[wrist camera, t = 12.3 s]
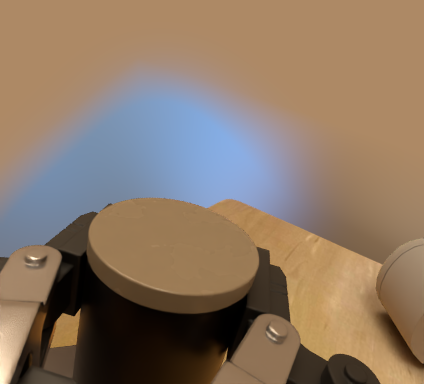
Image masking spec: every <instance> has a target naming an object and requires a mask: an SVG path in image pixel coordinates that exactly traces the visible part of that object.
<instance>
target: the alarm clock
mask: <svg viewBox="0 0 424 384" xmlns="http://www.w3.org/2000/svg"><path fill="white" fill-rule="evenodd" d="M376 291H377V294H378V298H379V300H380V301H381V303H382V305H383V306H384V308H385V309H386V311H387V313H388V314H389V316H390V317H391V319H392V321H393V322H394V324H395V325H396V327H397V329H398V330H399V332H400V334H401V335H402V337H403V338H404V340H405V342H406V343H407V345H408V346H409V348H410V350H411V351H412V353H413V354H414V355H415V356H416V357H417V359H418V360H419V361H420V362H421V363H423V364H424V238H420V239H416V240H412V241H409V242H407V243H405V244H403V245H402V246H400V247H398V248H397V249H396V250H395V251H394V252H393V253H392V254H391V255H390V256H389V257H388V258H387V260H386V261H385V263H384V264H383V266H382V267H381V269H380V272H379V274H378V277H377V283H376Z"/></svg>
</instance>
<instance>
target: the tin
mask: <svg viewBox="0 0 424 384" xmlns="http://www.w3.org/2000/svg"><path fill="white" fill-rule="evenodd" d="M86 248H87V263H86V271H85V279H84V288H83V296H82V304H81V312H80V320H79V328H78V336H77V344H76V352H75V360H74V369H73V377H72V379H73V380H74V381H76V382H77V383H79V384H211V382H212V381H213V379H214V378H215V376H216V374H217V373H218V371H219V370H220V367H221V365H222V362H223V359H224V356H225V354H226V351H227V348H228V345H229V342H230V340H231V337H232V334H233V331H234V329H235V326H236V323H237V320H238V318H239V315H240V312H241V309H242V306H243V304H244V301H245V298H246V295H247V293H248V291H249V290H250V288H251V286H252V284H253V281H254V279H255V276H256V273H257V270H258V267H259V255H258V251H257V248H256V246H255V244H254V242H253V241H252V239H251V238H250V237H249V235H248V234H247V233H246V232H245V231H244V230H243V229H241V228H240V227H239V226H238V225H236V224H235V223H234V222H232V221H231V220H229V219H227V218H226V217H224V216H222V215H220V214H218V213H216V212H214V211H212V210H209V209H207V208H204V207H201V206H198V205H195V204H192V203H188V202H184V201H178V200H173V199H165V198H138V199H131V200H125V201H121V202H118V203H115V204H113V205H110V206H108V207H107V208H105V209H103V210H102V211H101V212H99V213H98V214H97V215H96V216H95V218H94V219H93V220H92V222H91V224H90V227H89V231H88V239H87V247H86Z"/></svg>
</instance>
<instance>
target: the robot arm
mask: <svg viewBox="0 0 424 384" xmlns="http://www.w3.org/2000/svg"><path fill="white" fill-rule="evenodd" d="M110 205H113V204H108V205H107V206H106V207H105V208H107V207H108V206H110ZM105 208H104V209H105ZM101 211H102V210H101ZM101 211H100V212H101ZM97 214H98V213H96V212H90V213H87V214H84V215H81V216H80V217H78V218H77V219H76V220H75V221H74V222H73V223H72V224H70V225H68V226H67V227H66V229H64V230H62V231H61V232H60V233H59V234H58V235H56V236H55V237H54V238H53V239H51V240H50V241H49V242H48V243H46V244H45V245H32V246H26V247H23V248H20V249H18V250H16V251H15V252H14V253H12V254H11V256H10V257H9V258H5V257H0V384H79V383H77V382H76V381H74V380H73V379H71V378H70V377H67V376H64V375H60V374H57V373H54V372H51V371H48V370H45V369H44V366H45V362H46V359H47V356H48V352H49V349H50V346H51V342H52V339H53V336H54V332H55V329H56V320H57V319H58V318H59V317H60V316H61V314H62V313H65V314H68V315H71V316H75V315H76V313H77V312H78V311H79V309H80V308H81V304H82V296H83V288H84V279H85V271H86V263H87V248H86V247H87V239H88V231H89V227H90V224H91V222H92V220H93V219H94V218H95V216H96V215H97ZM256 248H257V251H258V255H259V267H258V270H257V273H256V276H255V279H254V281H253V284H252V286H251V288H250V290H249V291H248V293H247V295H246V298H245V301H244V304H243V306H242V309H241V312H240V315H239V318H238V320H237V323H236V326H235V329H234V331H233V334H232V337H231V340H230V342H229V345H228V351H227V359H226V361H225V362H224V363H223V365H222V366H221V368H220V370H219V371H218V373H217V374H216V376H215V378H214V379H213V381H212V382H211V384H380V382H379V380H378V379H377V377H376V376H375V374H374V373H373V372H372V371H371V370H370V369H369V368H368V367H367V366H366V365H365V364H364V363H362V362H361V361H359V360H358V359H356V358H354V357H352V356H349V355H345V354H335V355H333V356H332V357H330V359H329V361H326V360H325V359H323V358H321V357H319V356H318V355H316V354H314V353H313V352H311V351H309V350H308V349H307V348H305V347H304V346H303V345H302V344H301V343H300V336H299V333H298V331H297V330H296V328H295V327H294V326H293V325H292V324H291V322H290V312H289V303H288V296H287V295H288V293H287V283H286V276H285V275H284V273H283V272H282V270H281V269H280V267H277V266H274V265H271V264H270V253H269V250H266V249H262V248H259V247H256Z"/></svg>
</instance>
